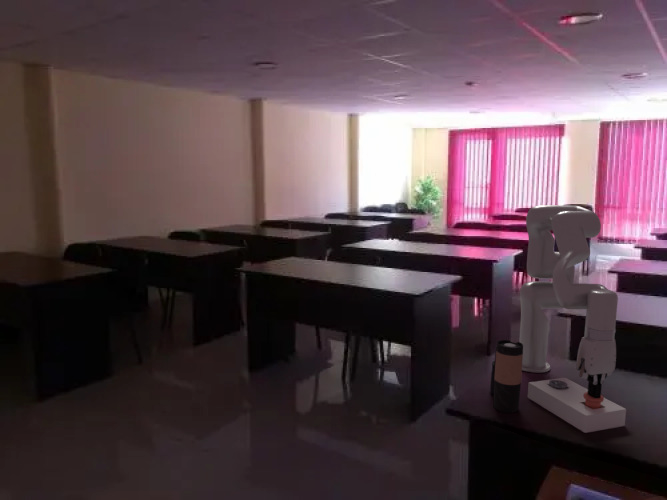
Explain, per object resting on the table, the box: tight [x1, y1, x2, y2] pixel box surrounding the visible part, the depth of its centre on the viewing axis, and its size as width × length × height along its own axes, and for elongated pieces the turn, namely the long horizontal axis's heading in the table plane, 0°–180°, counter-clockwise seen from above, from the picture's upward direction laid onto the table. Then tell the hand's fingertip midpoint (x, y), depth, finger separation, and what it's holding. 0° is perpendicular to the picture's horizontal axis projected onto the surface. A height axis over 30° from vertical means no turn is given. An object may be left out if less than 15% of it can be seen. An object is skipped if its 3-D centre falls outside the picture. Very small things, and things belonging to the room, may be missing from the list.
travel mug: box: [493, 339, 523, 413], centre depth 162 cm, size 8×8×20 cm
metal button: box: [549, 379, 567, 390], centre depth 167 cm, size 5×5×4 cm
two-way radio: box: [489, 346, 497, 395], centre depth 173 cm, size 6×4×15 cm
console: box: [527, 377, 627, 434], centre depth 161 cm, size 24×14×5 cm, turn 19°
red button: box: [583, 392, 605, 409], centre depth 154 cm, size 5×5×4 cm
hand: (593, 395), depth 153 cm, fingers closed
